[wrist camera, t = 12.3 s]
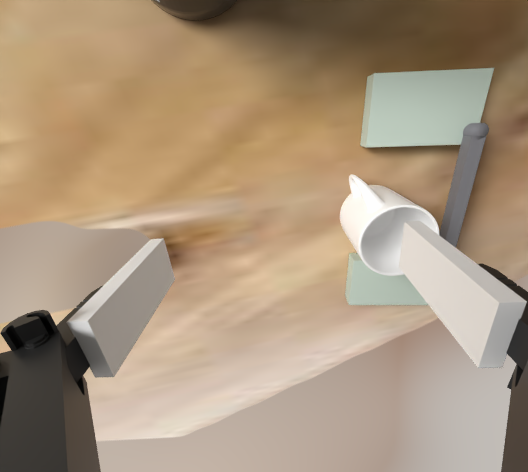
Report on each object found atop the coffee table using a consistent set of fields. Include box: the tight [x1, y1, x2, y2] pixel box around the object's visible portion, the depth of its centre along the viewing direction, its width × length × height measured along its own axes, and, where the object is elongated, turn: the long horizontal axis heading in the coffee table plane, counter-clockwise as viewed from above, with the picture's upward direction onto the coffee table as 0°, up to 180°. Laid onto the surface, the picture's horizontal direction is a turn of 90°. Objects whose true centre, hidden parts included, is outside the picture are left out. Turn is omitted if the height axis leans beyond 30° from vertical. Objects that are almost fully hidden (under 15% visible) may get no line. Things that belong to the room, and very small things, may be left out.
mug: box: [340, 174, 439, 276], centre depth 34 cm, size 9×12×11 cm
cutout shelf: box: [345, 68, 494, 305], centre depth 37 cm, size 32×13×4 cm, turn 2°
